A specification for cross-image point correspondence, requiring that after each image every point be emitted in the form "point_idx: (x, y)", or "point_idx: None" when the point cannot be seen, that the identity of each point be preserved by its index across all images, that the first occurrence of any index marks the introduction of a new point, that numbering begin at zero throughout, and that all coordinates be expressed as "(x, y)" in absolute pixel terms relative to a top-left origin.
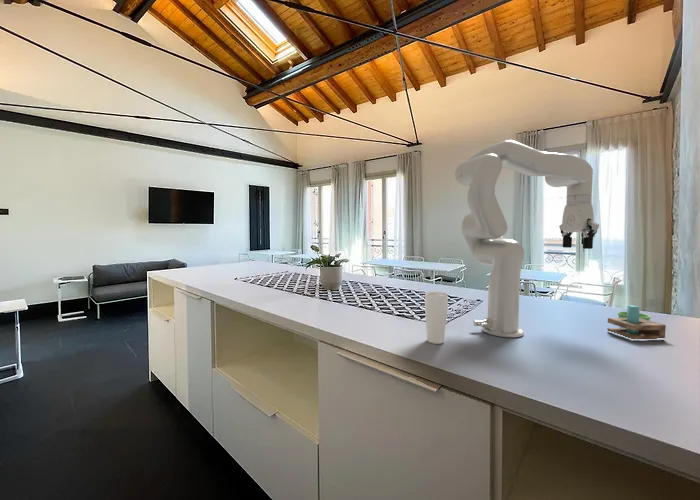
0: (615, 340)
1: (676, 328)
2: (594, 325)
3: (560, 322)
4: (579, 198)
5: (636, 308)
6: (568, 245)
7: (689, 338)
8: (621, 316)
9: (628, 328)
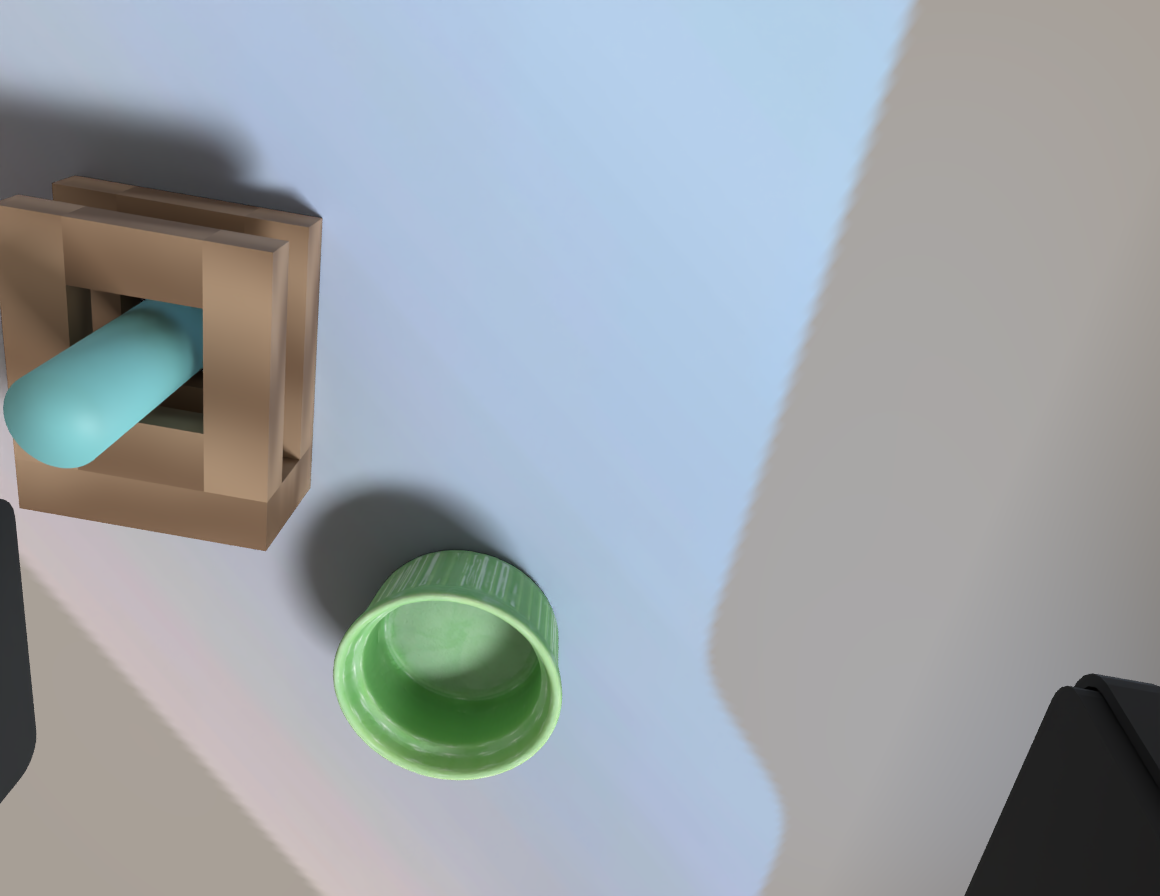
0: (105, 54)
1: (361, 829)
2: (545, 332)
3: (722, 79)
4: None
5: (10, 393)
6: (1021, 876)
7: (141, 663)
8: (473, 590)
9: (58, 203)
